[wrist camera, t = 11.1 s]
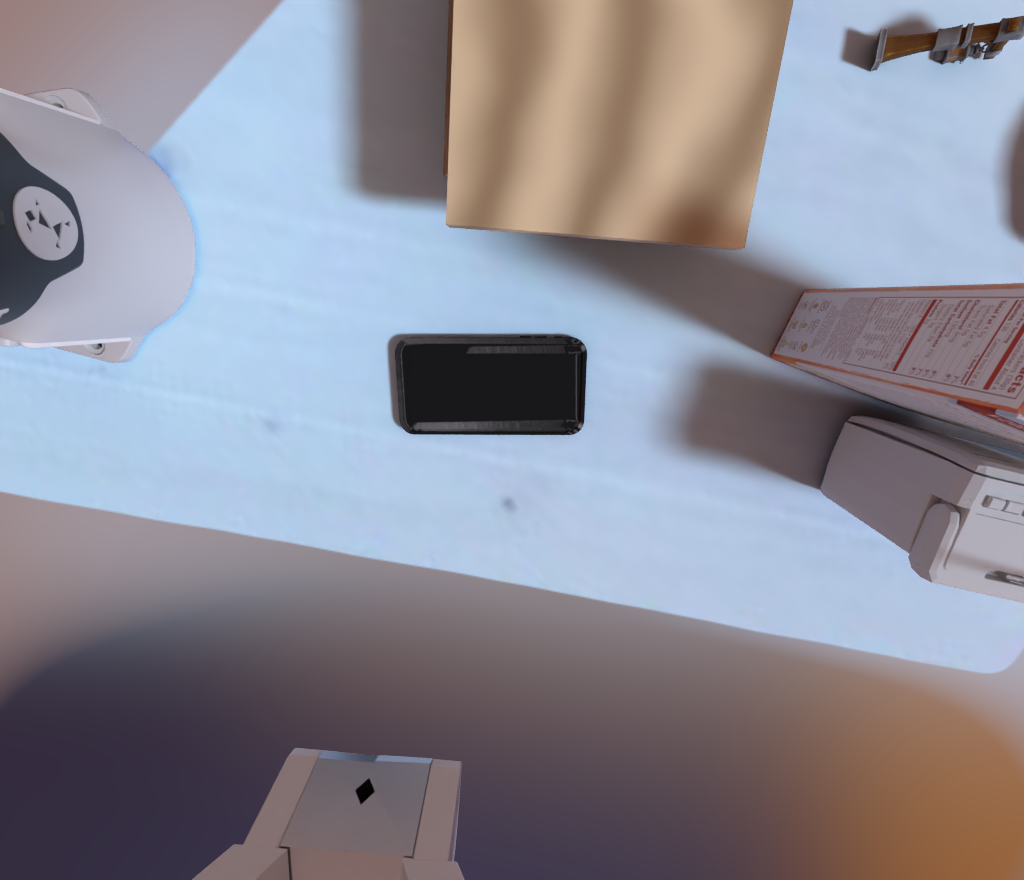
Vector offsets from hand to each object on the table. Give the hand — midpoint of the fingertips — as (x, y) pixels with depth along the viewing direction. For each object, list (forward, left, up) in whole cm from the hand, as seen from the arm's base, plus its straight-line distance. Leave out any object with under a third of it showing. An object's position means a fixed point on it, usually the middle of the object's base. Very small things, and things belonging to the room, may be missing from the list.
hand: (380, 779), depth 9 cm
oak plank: (+6, +19, -27) cm, 33 cm away
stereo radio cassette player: (+38, -4, -33) cm, 51 cm away
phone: (0, +1, -34) cm, 34 cm away
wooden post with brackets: (+27, +26, -34) cm, 50 cm away
